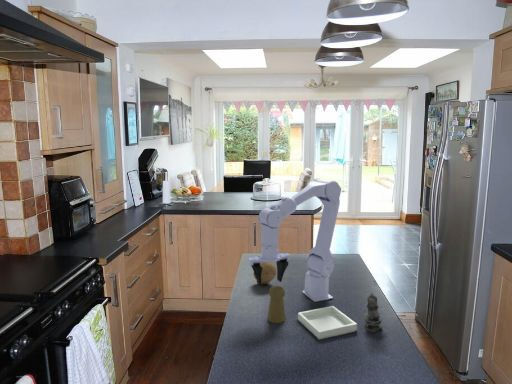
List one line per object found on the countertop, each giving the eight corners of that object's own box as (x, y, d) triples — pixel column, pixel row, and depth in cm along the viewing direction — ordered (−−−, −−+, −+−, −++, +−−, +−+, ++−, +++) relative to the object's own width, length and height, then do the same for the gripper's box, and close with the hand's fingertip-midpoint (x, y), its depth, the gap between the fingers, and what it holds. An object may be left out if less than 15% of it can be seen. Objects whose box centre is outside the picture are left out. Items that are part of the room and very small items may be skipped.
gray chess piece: (371, 318, 131) (369, 286, 128) (386, 326, 126) (385, 292, 123) (359, 327, 128) (358, 293, 124) (375, 334, 123) (374, 300, 120)
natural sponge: (278, 287, 158) (279, 263, 157) (257, 289, 156) (257, 265, 155) (273, 279, 167) (273, 256, 165) (252, 281, 165) (252, 257, 163)
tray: (297, 319, 132) (297, 312, 132) (332, 312, 138) (333, 305, 137) (319, 339, 120) (319, 332, 120) (356, 331, 125) (357, 323, 125)
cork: (264, 316, 135) (264, 285, 133) (280, 313, 137) (281, 282, 135) (272, 324, 129) (272, 292, 127) (288, 321, 132) (289, 289, 130)
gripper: (253, 249, 128) (253, 289, 131) (294, 244, 134) (293, 283, 136) (246, 243, 135) (246, 282, 137) (285, 239, 140) (284, 276, 142)
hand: (269, 282), depth 137 cm, fingers open, 7 cm apart
